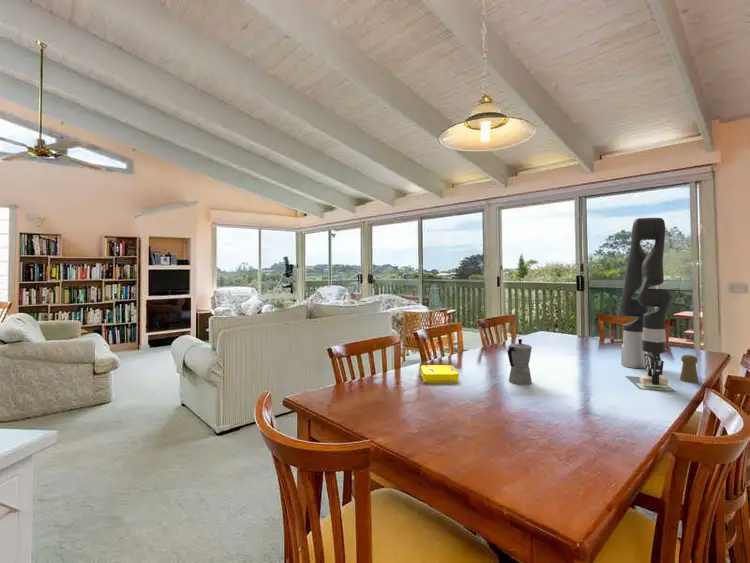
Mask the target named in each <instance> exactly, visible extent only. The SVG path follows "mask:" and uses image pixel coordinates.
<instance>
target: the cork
mask: <svg viewBox="0 0 750 563" xmlns="http://www.w3.org/2000/svg"><path fill="white" fill-rule="evenodd" d="M680 358H681V362H682V366H681V372H680V378H679V380H680V381H681V382H684V383H688V384H689V383H691V384H697V383H699V377H698V370H697V365H696V364H697V363H698V358H697V356H695V355H692V354H683V355H682V356H681V357H680Z"/></svg>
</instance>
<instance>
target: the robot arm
mask: <svg viewBox="0 0 750 563" xmlns="http://www.w3.org/2000/svg"><path fill="white" fill-rule="evenodd" d="M630 238H631V240H630V250H629V254H628V255H629V256H628V260H627V266H626V269H625V270H626V271H625V279H624V285H623V290H622V294H621V298H620V303H619V313H620V315H621V316H623V317H636V318H635V320H633V321H630V322H626V323H624V324H623V326H622V330H623V331H622V332H623V334H622V335H623V337H622V340H623V342H622V344H621V351H620V352H621V353H620V354H621V358H620V359H621V360H620V361H621V362H620V363H621V365H622V366H623V367H626V368H633V369H646V371H647V376H652V384H653V385H659V376H662V375H663V370H664V363H665V362H664V361H663V360H662V357H661V354H664V353H665V352H666V351H667V350H666V346H667V344H666V343H667V342H666V341H667V336H666V315H667V311H668V308H669V306H670V303H671V300H672V294H671V293H670V291H669V289H666V288H651V287H656V286H660V285H662V284H663V283H664V280H665V279H664V277H665V276H664V265H663V264H664V261H663V260H664V251H665V239H666V224H665V220H664V218H661V217H639V218H636V219H635V220H633V223H632V228H631V237H630ZM641 241H654V244H653V247H652V249H651V250H650V251H649V253H647V254H646V252H645V251H644V249H643V247H642V245H641ZM638 290H639V292H638V295H637V297H635V296H634V294H635V293H636V292H637V291H638ZM633 296H634V297H633ZM649 307H651V308H653V307H654V308H658V309H657V310H655V311H652V312H648V308H649Z"/></svg>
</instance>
